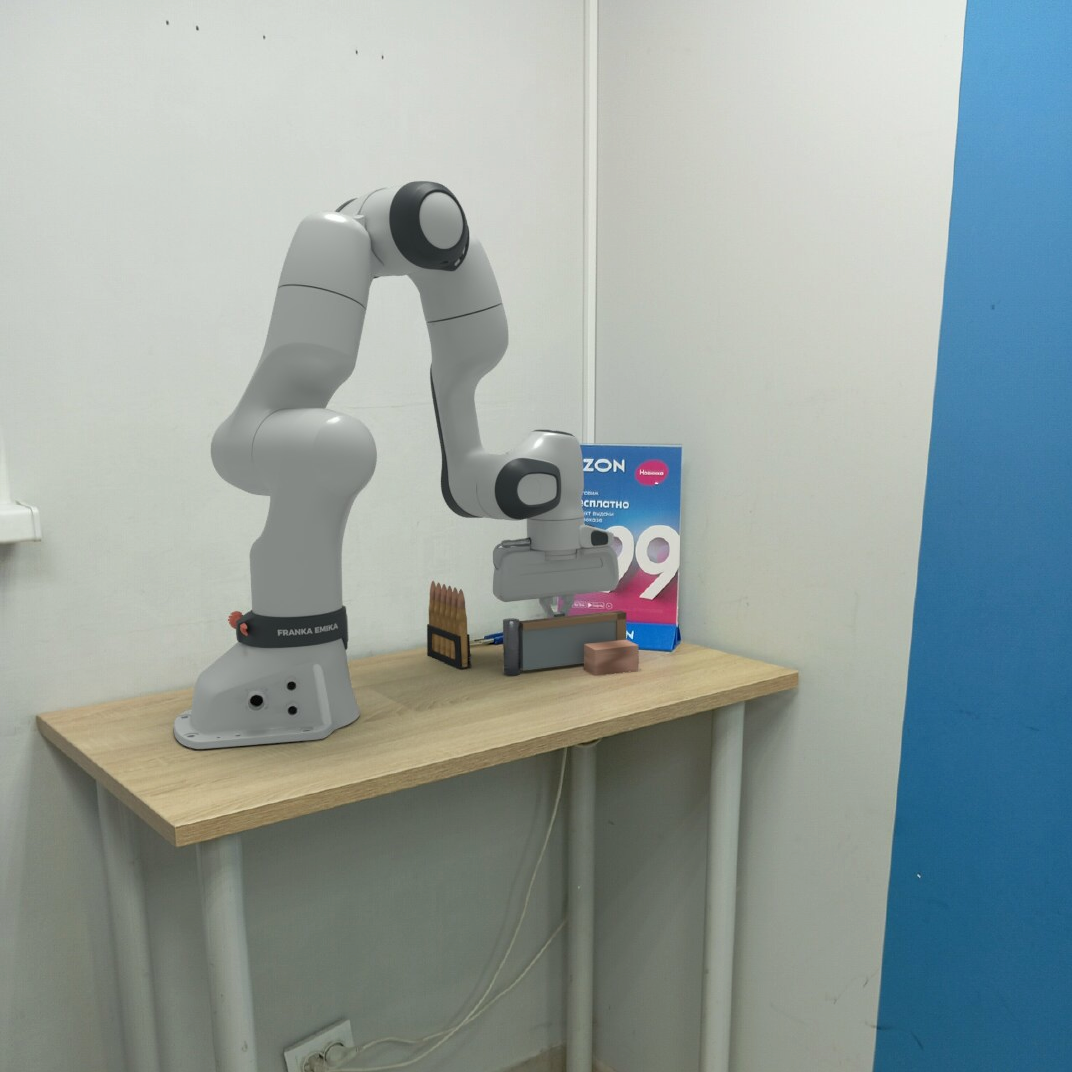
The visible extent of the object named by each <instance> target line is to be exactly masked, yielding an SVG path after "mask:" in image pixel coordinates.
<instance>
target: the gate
mask: <svg viewBox="0 0 1072 1072" xmlns="http://www.w3.org/2000/svg"><path fill="white" fill-rule="evenodd" d="M519 630H520V670H522V671H530V670H538V669H544V668H545V669H546V668H554V667H562V666H568V665H569V666H570V665H577V664H584V644H589V643H599V642H608V641H618V640H627V612H625V611H623V610H612V611H603V612H593V613H582V614H575V615H568V616H562V617H553V618H546V617H545V618H535V619H526V620H519Z"/></svg>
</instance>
